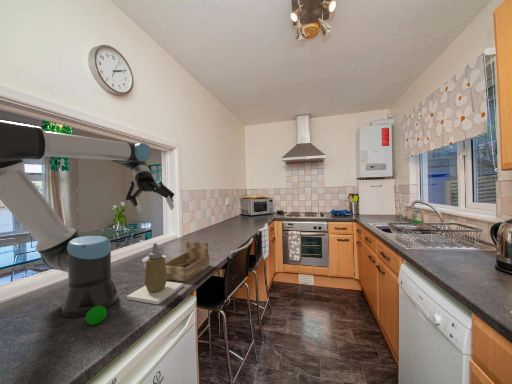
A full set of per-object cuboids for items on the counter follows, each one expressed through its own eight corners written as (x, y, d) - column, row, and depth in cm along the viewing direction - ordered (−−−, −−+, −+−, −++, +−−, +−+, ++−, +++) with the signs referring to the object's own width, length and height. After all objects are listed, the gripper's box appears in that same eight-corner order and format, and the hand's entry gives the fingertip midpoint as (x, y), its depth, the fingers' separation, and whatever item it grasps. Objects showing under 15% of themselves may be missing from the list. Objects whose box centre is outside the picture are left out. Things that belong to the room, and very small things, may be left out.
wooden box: (159, 278, 93) (159, 252, 92) (186, 263, 112) (186, 241, 112) (186, 282, 89) (185, 254, 89) (209, 265, 108) (208, 242, 108)
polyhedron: (110, 317, 64) (110, 302, 64) (98, 328, 60) (98, 311, 59) (94, 318, 64) (93, 303, 64) (81, 328, 59) (80, 312, 59)
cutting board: (126, 299, 75) (126, 296, 75) (155, 282, 89) (155, 279, 89) (158, 304, 71) (158, 301, 71) (183, 286, 85) (182, 283, 85)
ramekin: (170, 263, 112) (170, 254, 112) (158, 272, 101) (158, 261, 101) (151, 263, 113) (150, 254, 113) (137, 271, 102) (137, 261, 102)
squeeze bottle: (139, 291, 78) (138, 244, 78) (158, 283, 85) (157, 240, 85) (153, 296, 75) (152, 247, 74) (172, 287, 82) (171, 242, 82)
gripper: (166, 182, 110) (181, 212, 100) (111, 182, 91) (122, 218, 81) (171, 171, 106) (186, 201, 96) (114, 169, 87) (126, 205, 78)
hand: (157, 209), depth 89 cm, fingers open, 13 cm apart
